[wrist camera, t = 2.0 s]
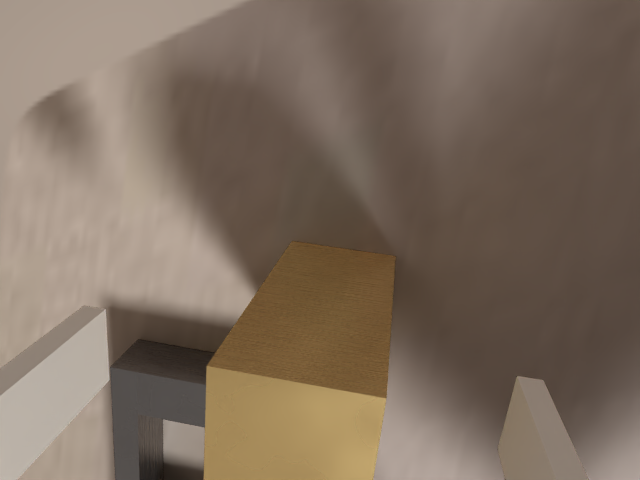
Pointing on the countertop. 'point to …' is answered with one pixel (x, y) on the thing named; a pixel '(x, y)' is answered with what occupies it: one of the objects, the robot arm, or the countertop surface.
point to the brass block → (304, 371)
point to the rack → (153, 403)
